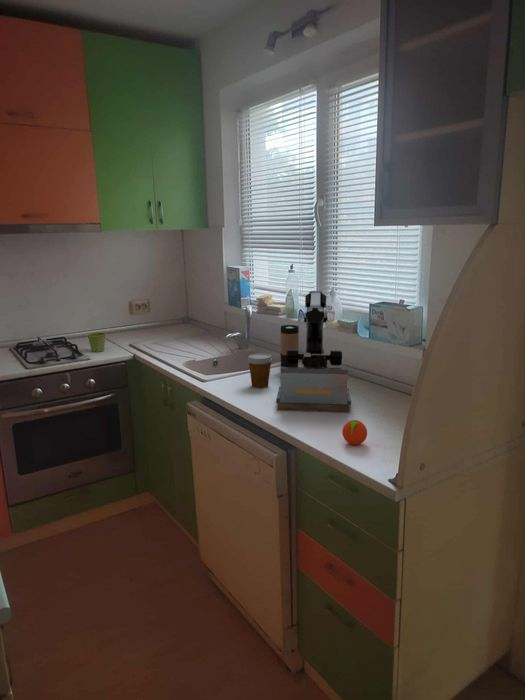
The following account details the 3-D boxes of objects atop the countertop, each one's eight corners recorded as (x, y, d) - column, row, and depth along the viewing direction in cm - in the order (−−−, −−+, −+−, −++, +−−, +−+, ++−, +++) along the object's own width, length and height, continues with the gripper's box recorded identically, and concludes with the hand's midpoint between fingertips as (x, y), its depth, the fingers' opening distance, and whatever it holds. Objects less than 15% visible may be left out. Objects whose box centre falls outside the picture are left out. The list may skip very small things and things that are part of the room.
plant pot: (92, 354, 255) (90, 336, 253) (85, 350, 262) (83, 334, 260) (110, 351, 261) (109, 334, 259) (103, 348, 268) (101, 331, 266)
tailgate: (280, 401, 175) (280, 366, 172) (346, 403, 172) (347, 368, 170) (280, 402, 173) (280, 368, 171) (346, 404, 171) (347, 369, 168)
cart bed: (279, 397, 188) (279, 386, 187) (348, 399, 185) (348, 388, 184) (276, 410, 174) (276, 398, 173) (350, 412, 172) (351, 401, 171)
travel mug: (277, 371, 221) (277, 325, 216) (292, 369, 224) (292, 324, 220) (286, 376, 214) (286, 328, 210) (301, 373, 218) (302, 327, 213)
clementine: (363, 452, 141) (364, 427, 140) (338, 448, 144) (339, 424, 142) (368, 441, 149) (369, 417, 147) (345, 437, 151) (345, 414, 150)
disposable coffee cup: (244, 383, 204) (244, 354, 202) (267, 381, 207) (267, 352, 205) (252, 390, 196) (251, 360, 193) (275, 388, 199) (275, 357, 196)
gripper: (340, 352, 186) (340, 391, 178) (288, 351, 188) (286, 389, 180) (342, 335, 177) (342, 375, 168) (287, 334, 179) (285, 374, 170)
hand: (313, 379), depth 172 cm, fingers closed
